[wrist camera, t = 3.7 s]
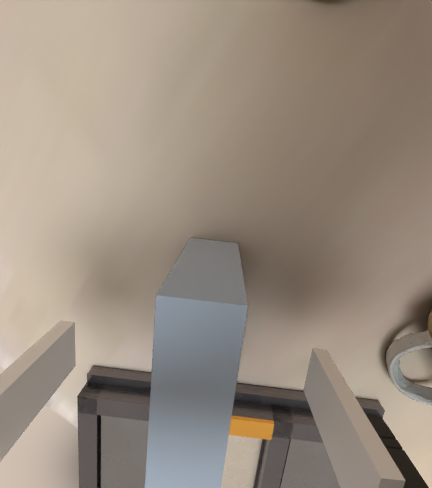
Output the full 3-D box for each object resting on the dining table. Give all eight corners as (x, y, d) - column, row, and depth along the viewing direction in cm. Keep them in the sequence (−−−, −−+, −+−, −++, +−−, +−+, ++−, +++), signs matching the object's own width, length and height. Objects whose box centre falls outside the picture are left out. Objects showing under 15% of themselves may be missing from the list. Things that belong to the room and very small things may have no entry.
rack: (93, 365, 23) (75, 391, 20) (378, 400, 23) (398, 431, 20) (93, 504, 27) (78, 541, 24) (336, 535, 27) (348, 576, 24)
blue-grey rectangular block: (190, 237, 20) (156, 295, 10) (237, 243, 20) (248, 306, 10) (180, 355, 22) (144, 491, 13) (222, 360, 22) (218, 500, 13)
